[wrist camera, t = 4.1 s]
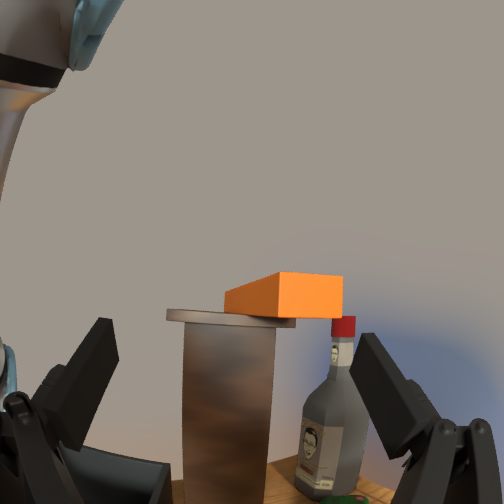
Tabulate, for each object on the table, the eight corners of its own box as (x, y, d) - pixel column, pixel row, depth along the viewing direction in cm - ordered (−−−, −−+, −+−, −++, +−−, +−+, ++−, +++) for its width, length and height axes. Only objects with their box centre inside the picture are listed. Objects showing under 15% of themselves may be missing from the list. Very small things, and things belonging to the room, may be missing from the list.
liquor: (329, 470, 41) (344, 315, 47) (362, 488, 33) (386, 315, 39) (287, 483, 38) (301, 315, 44) (319, 507, 29) (342, 316, 35)
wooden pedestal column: (175, 553, 18) (166, 308, 24) (182, 510, 28) (182, 309, 34) (271, 556, 19) (296, 316, 25) (260, 513, 28) (275, 315, 35)
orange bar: (277, 317, 15) (279, 271, 16) (223, 312, 35) (225, 291, 35) (342, 318, 16) (343, 276, 17) (256, 314, 35) (257, 293, 36)
